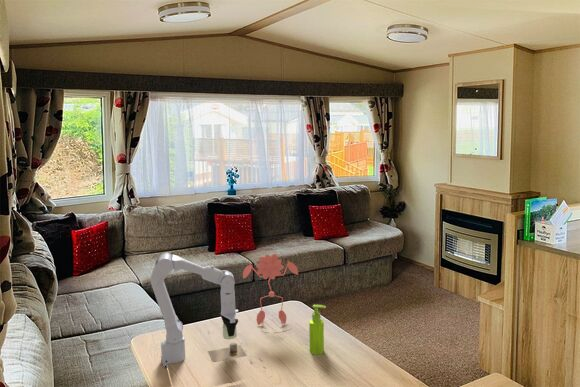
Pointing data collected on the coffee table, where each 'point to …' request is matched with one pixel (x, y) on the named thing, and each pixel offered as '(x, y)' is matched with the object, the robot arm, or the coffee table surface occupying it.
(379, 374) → the coffee table surface
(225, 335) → the cap
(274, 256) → the figurine
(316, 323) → the soap dispenser
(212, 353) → the post base
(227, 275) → the robot arm
